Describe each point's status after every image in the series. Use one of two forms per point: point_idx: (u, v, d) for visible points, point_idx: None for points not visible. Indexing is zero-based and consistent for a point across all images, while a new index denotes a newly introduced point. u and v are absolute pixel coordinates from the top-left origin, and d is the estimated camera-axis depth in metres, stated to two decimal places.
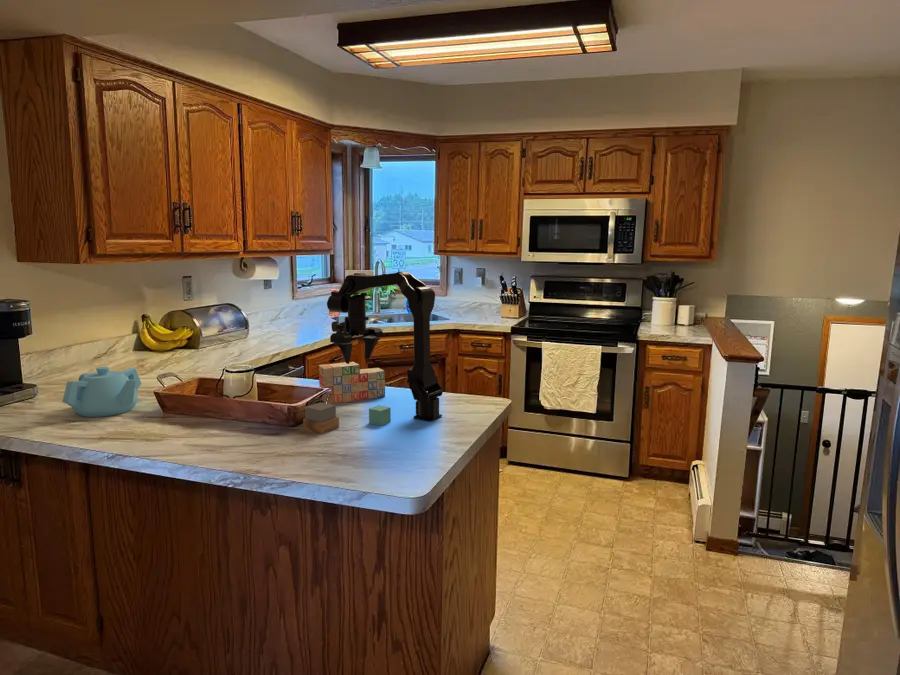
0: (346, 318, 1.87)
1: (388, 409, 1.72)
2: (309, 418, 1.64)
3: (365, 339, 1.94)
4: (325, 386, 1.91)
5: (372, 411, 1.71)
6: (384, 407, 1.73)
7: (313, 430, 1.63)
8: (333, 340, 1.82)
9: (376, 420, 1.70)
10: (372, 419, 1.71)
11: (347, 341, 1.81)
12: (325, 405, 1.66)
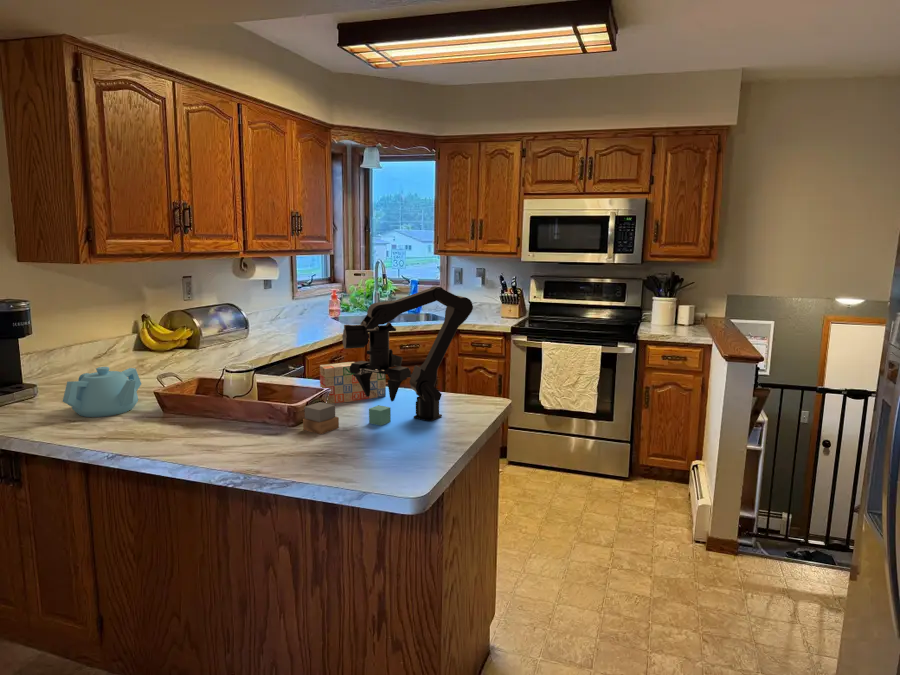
0: None
1: (388, 409, 1.72)
2: (308, 418, 1.64)
3: None
4: (326, 386, 1.91)
5: (372, 411, 1.71)
6: (384, 407, 1.73)
7: (313, 430, 1.63)
8: None
9: (376, 420, 1.70)
10: (372, 419, 1.71)
11: (353, 371, 1.72)
12: (324, 405, 1.66)
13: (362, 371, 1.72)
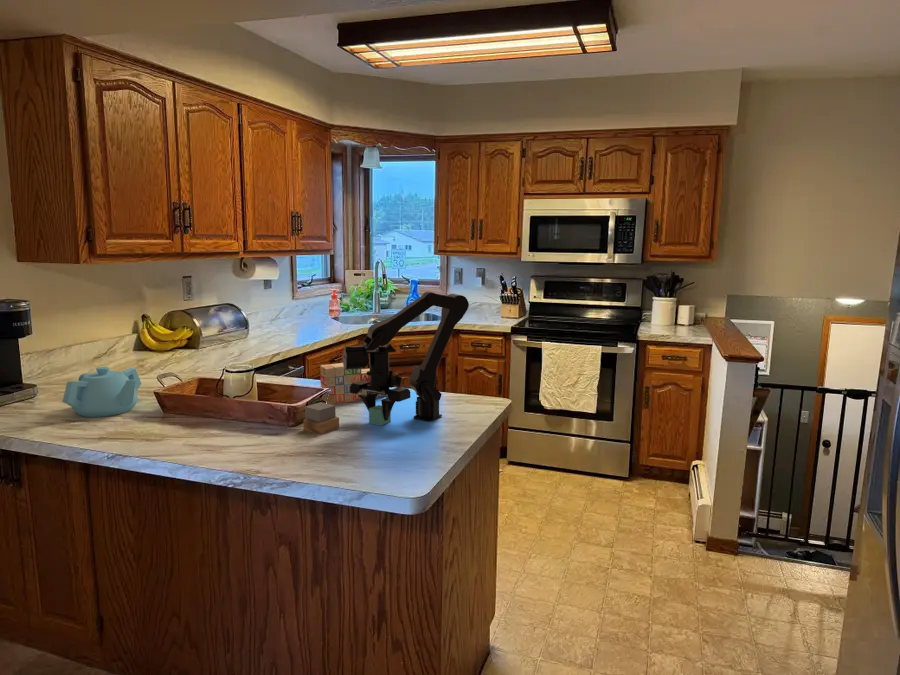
0: None
1: None
2: (309, 418, 1.64)
3: None
4: (327, 386, 1.91)
5: (373, 411, 1.71)
6: None
7: (313, 430, 1.63)
8: None
9: (376, 420, 1.70)
10: (372, 418, 1.71)
11: (353, 391, 1.73)
12: (325, 405, 1.66)
13: (368, 392, 1.72)
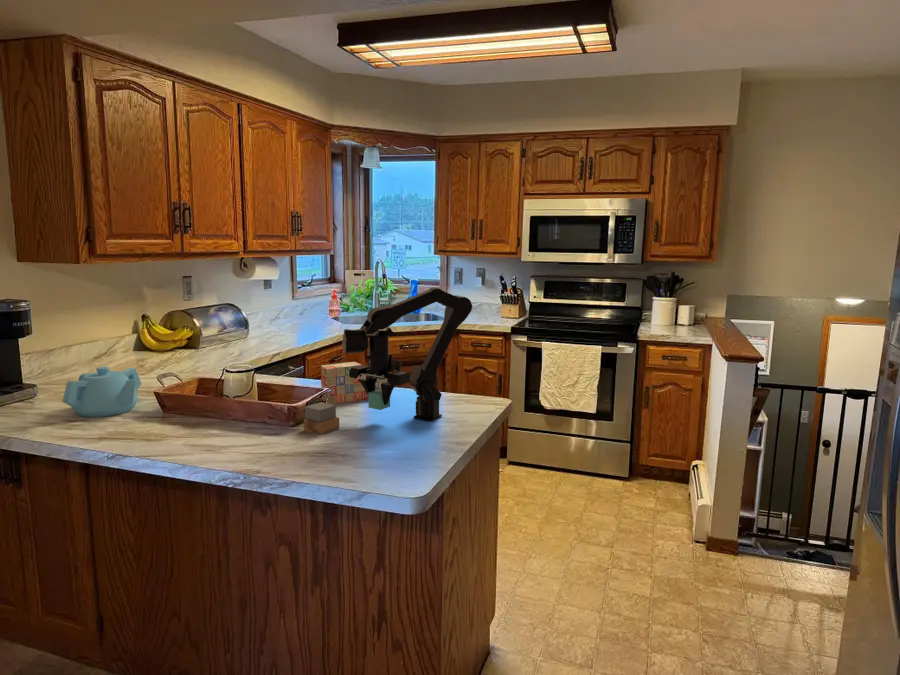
0: None
1: None
2: (309, 418, 1.64)
3: None
4: (328, 386, 1.91)
5: (372, 395, 1.70)
6: None
7: (313, 430, 1.63)
8: None
9: (376, 405, 1.69)
10: (372, 403, 1.70)
11: (352, 376, 1.72)
12: (325, 405, 1.66)
13: (367, 377, 1.71)
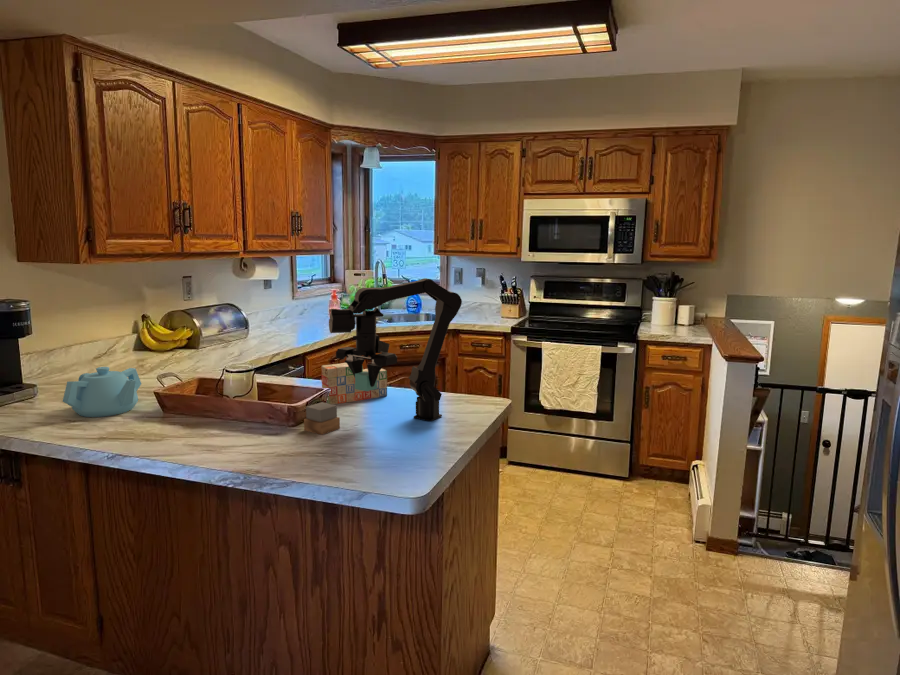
0: None
1: None
2: (310, 418, 1.64)
3: None
4: (329, 387, 1.90)
5: (358, 376, 1.67)
6: None
7: (314, 430, 1.63)
8: None
9: (362, 386, 1.67)
10: (358, 384, 1.68)
11: (339, 357, 1.69)
12: (326, 405, 1.66)
13: (354, 358, 1.69)
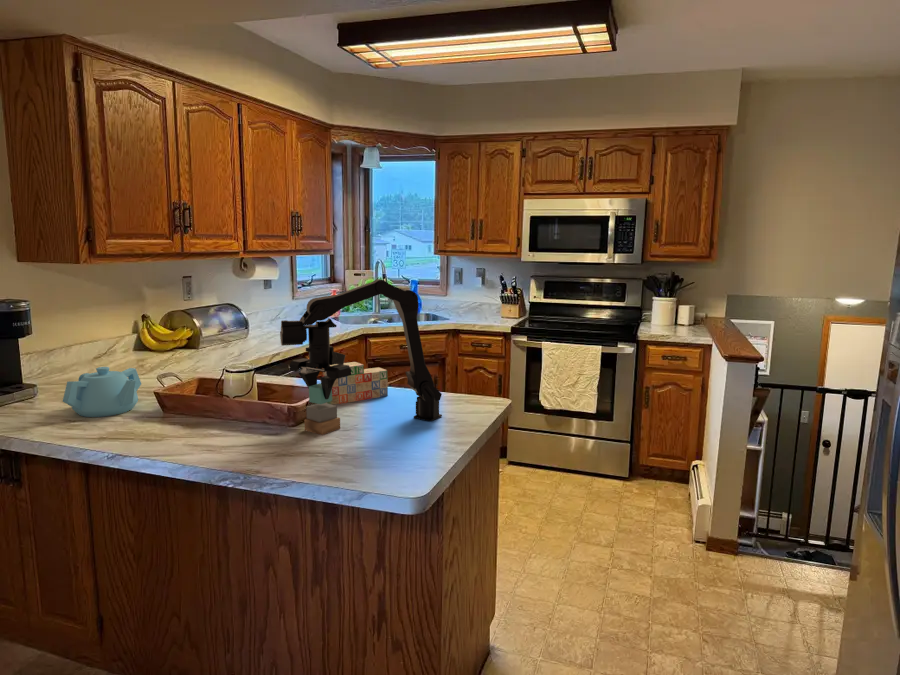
0: None
1: None
2: (310, 418, 1.64)
3: None
4: None
5: (312, 389, 1.63)
6: None
7: (314, 431, 1.63)
8: None
9: (316, 399, 1.63)
10: (312, 397, 1.63)
11: (293, 369, 1.65)
12: (326, 405, 1.66)
13: (308, 370, 1.64)
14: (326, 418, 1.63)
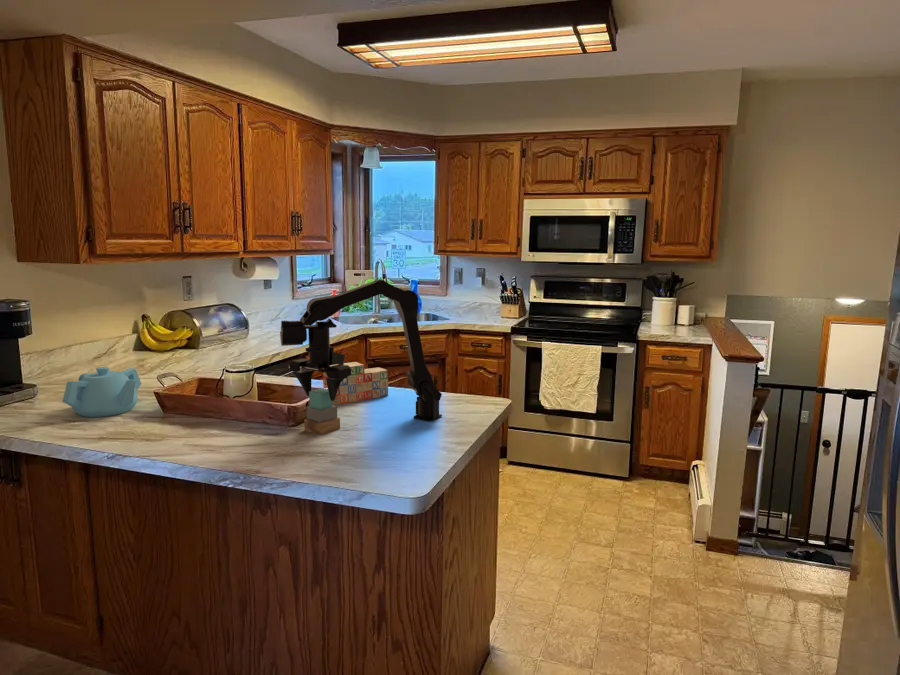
0: None
1: None
2: (310, 418, 1.64)
3: None
4: None
5: (312, 394, 1.63)
6: (325, 390, 1.65)
7: (314, 431, 1.63)
8: None
9: (316, 404, 1.62)
10: (312, 402, 1.63)
11: (292, 369, 1.65)
12: None
13: (302, 369, 1.65)
14: (326, 418, 1.63)
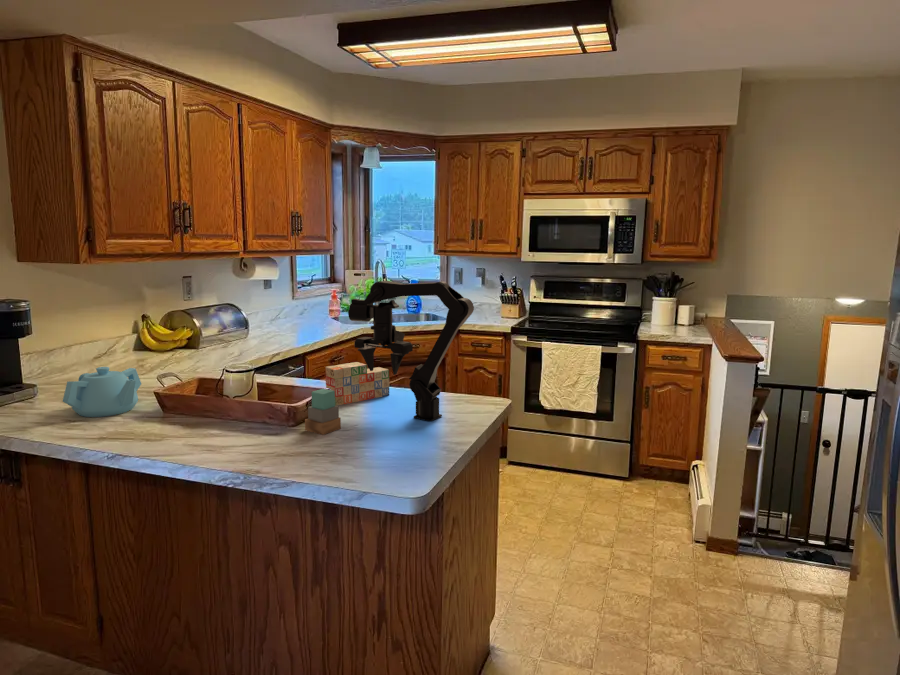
0: None
1: (332, 392, 1.64)
2: (312, 418, 1.64)
3: None
4: (336, 387, 1.89)
5: (315, 395, 1.62)
6: (328, 390, 1.64)
7: (315, 431, 1.63)
8: None
9: (319, 404, 1.62)
10: (315, 402, 1.63)
11: (357, 346, 1.80)
12: None
13: (366, 346, 1.81)
14: (328, 418, 1.63)
